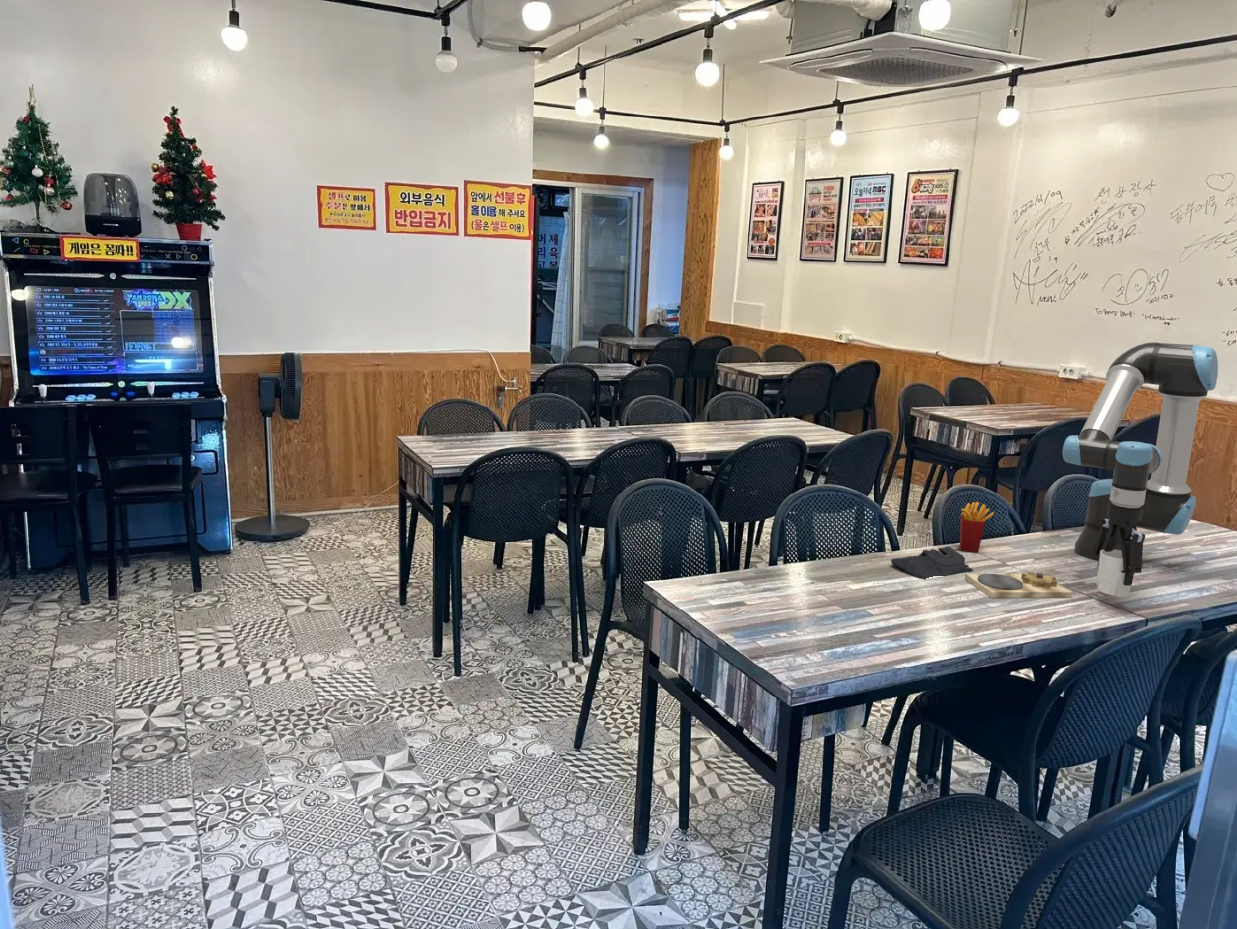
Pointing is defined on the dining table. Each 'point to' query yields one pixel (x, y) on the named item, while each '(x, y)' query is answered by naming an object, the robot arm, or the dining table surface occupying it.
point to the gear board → (1018, 585)
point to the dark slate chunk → (933, 563)
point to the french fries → (972, 527)
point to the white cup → (1109, 571)
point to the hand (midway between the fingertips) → (1111, 590)
